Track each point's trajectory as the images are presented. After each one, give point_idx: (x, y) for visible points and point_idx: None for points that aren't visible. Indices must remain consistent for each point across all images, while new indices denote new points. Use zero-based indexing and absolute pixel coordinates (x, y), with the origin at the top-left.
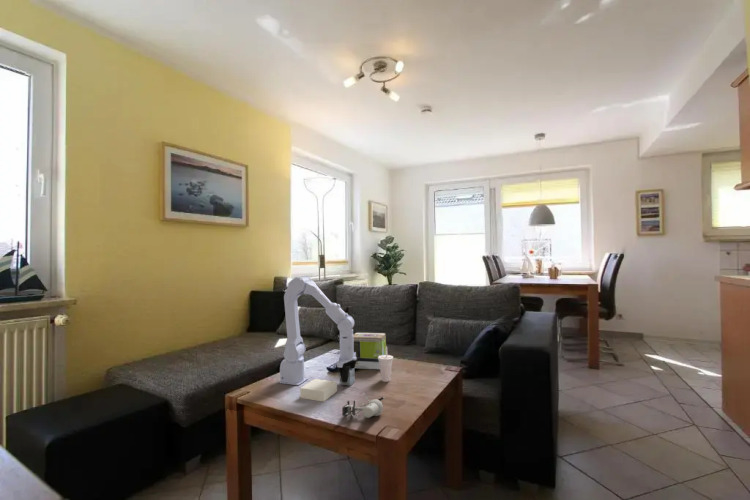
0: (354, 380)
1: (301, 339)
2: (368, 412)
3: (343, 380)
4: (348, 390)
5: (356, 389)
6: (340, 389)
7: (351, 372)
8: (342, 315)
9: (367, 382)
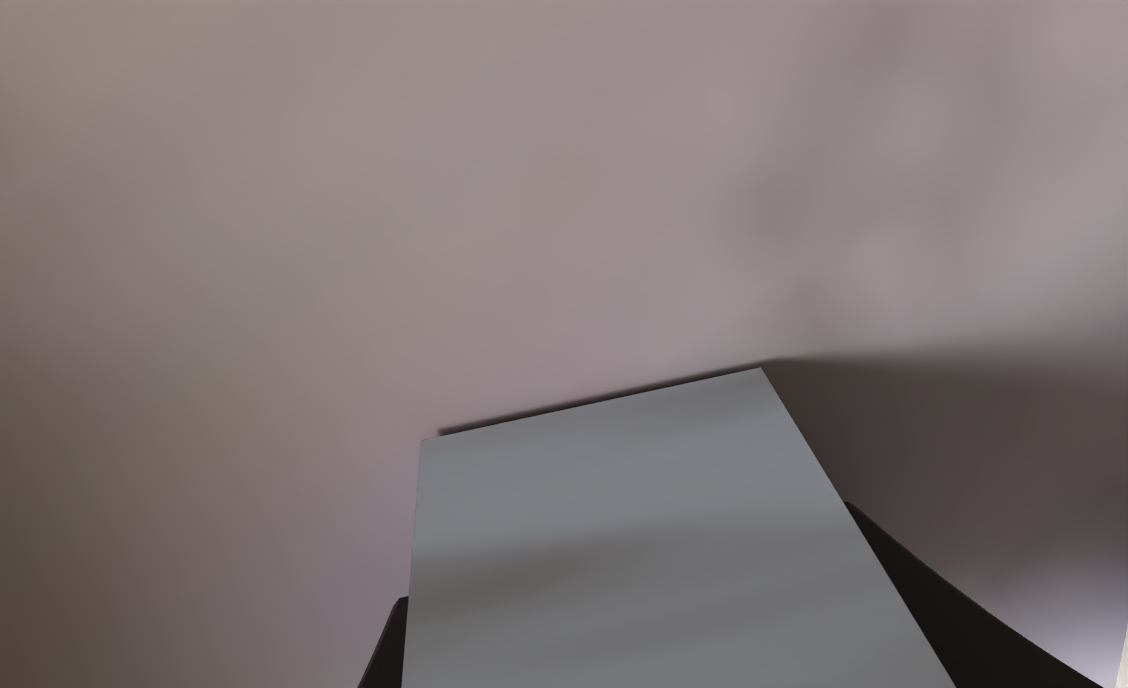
0: (436, 460)
1: None
2: None
3: None
4: (1055, 228)
5: (918, 52)
6: (1040, 444)
7: (760, 669)
8: None
9: (195, 58)
